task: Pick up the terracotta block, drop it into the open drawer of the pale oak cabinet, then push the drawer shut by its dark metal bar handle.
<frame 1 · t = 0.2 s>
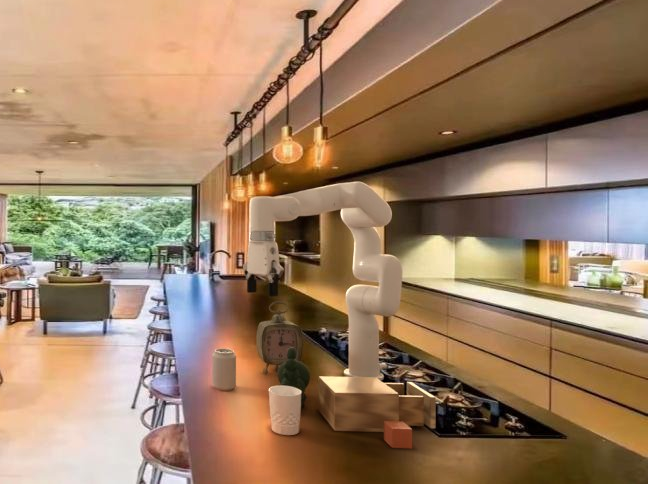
hand: (262, 294, 144), 31 cm above the countertop, tool pointing down, fingers open, 9 cm apart
cabinet: (356, 420, 126), on the countertop
white cup: (285, 430, 120), on the countertop
block: (397, 444, 112), on the countertop
tabletop clock: (278, 372, 171), on the countertop
drawer: (402, 403, 125), point 5 cm above the countertop, slide at 8.0 cm
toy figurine: (292, 403, 140), on the countertop
can: (224, 388, 153), on the countertop
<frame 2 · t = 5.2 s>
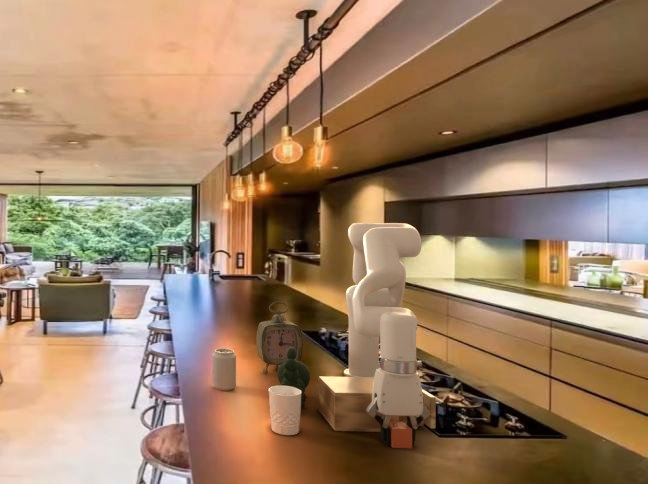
hand: (397, 442, 112), 0 cm above the countertop, tool pointing down, fingers closed on block, 4 cm apart
block: (397, 444, 112), on the countertop, touching gripper
everything else where it was.
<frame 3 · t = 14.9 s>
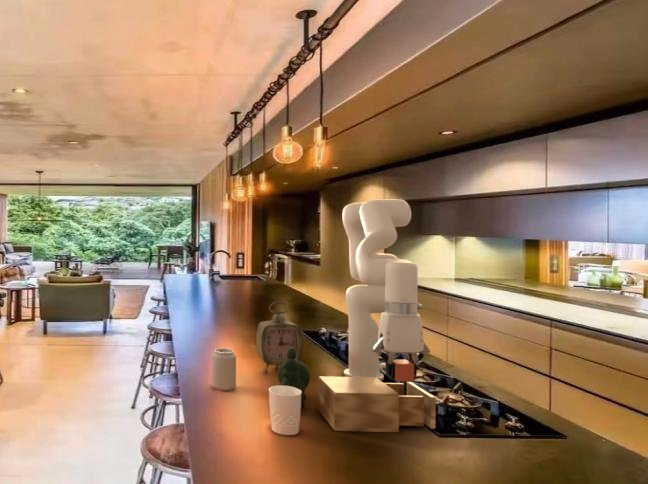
hand: (401, 377, 125), 12 cm above the countertop, tool pointing down, fingers closed on block, 4 cm apart
block: (401, 378, 125), point 11 cm above the countertop, touching gripper
everything else where it was.
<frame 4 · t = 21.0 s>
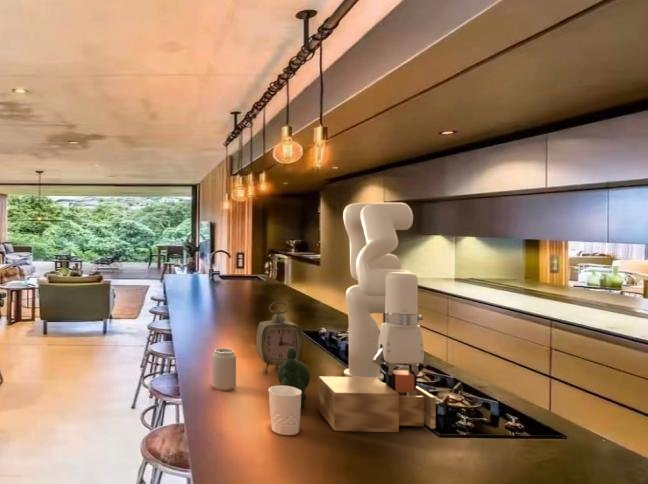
hand: (401, 388, 125), 9 cm above the countertop, tool pointing down, fingers closed on block, 4 cm apart
block: (401, 389, 125), point 8 cm above the countertop, touching gripper
everything else where it was.
when the fingers open (12 cm above the countertop, at t = 24.7 s): block drops 10 cm, resting on drawer.
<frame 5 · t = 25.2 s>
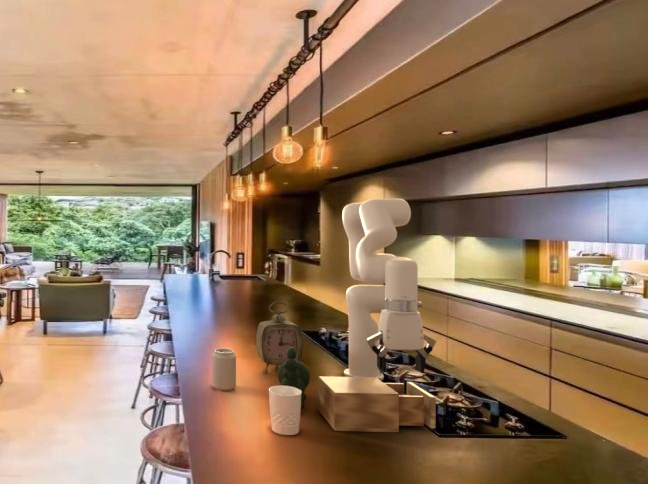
hand: (400, 371, 125), 13 cm above the countertop, tool pointing down, fingers open, 9 cm apart
block: (401, 414, 125), point 2 cm above the countertop, touching drawer
drawer: (402, 403, 125), point 5 cm above the countertop, slide at 8.0 cm, touching block
everything else where it was.
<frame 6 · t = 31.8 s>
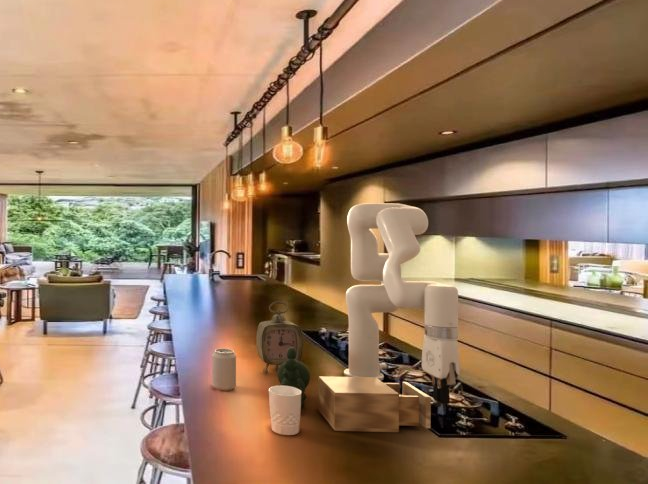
hand: (441, 402, 125), 5 cm above the countertop, tool pointing down, fingers closed
block: (396, 414, 126), point 2 cm above the countertop, touching drawer
drawer: (397, 403, 126), point 5 cm above the countertop, slide at 6.8 cm, touching block, gripper
everything else where it was.
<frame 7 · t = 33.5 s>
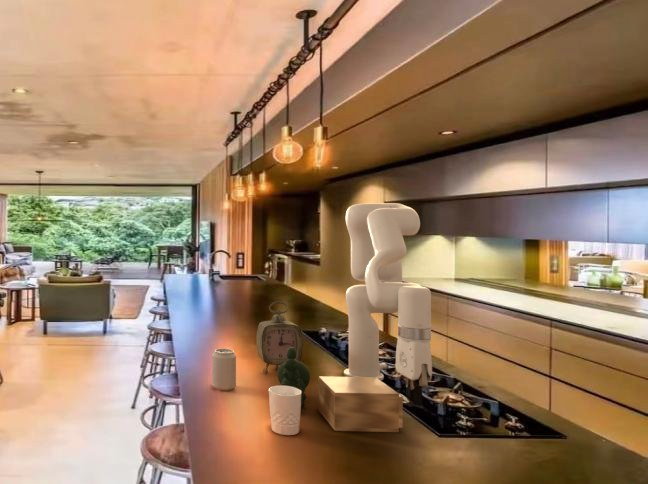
hand: (414, 403, 125), 5 cm above the countertop, tool pointing down, fingers closed
block: (369, 413, 126), point 2 cm above the countertop, touching drawer
drawer: (371, 403, 126), point 5 cm above the countertop, slide at 0.0 cm, touching block, cabinet, gripper
everything else where it was.
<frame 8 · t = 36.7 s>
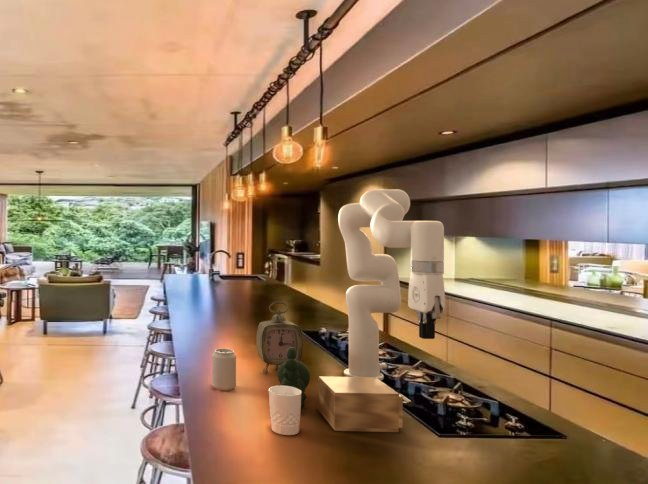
hand: (426, 338, 125), 22 cm above the countertop, tool pointing down, fingers closed
drawer: (371, 403, 126), point 5 cm above the countertop, slide at 0.0 cm, touching block, cabinet
everything else where it was.
at the end: block inside the target area in the cabinet (3.4 cm from its centre), point 2.0 cm above the cabinet's base; drawer slide at 0.0 cm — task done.
